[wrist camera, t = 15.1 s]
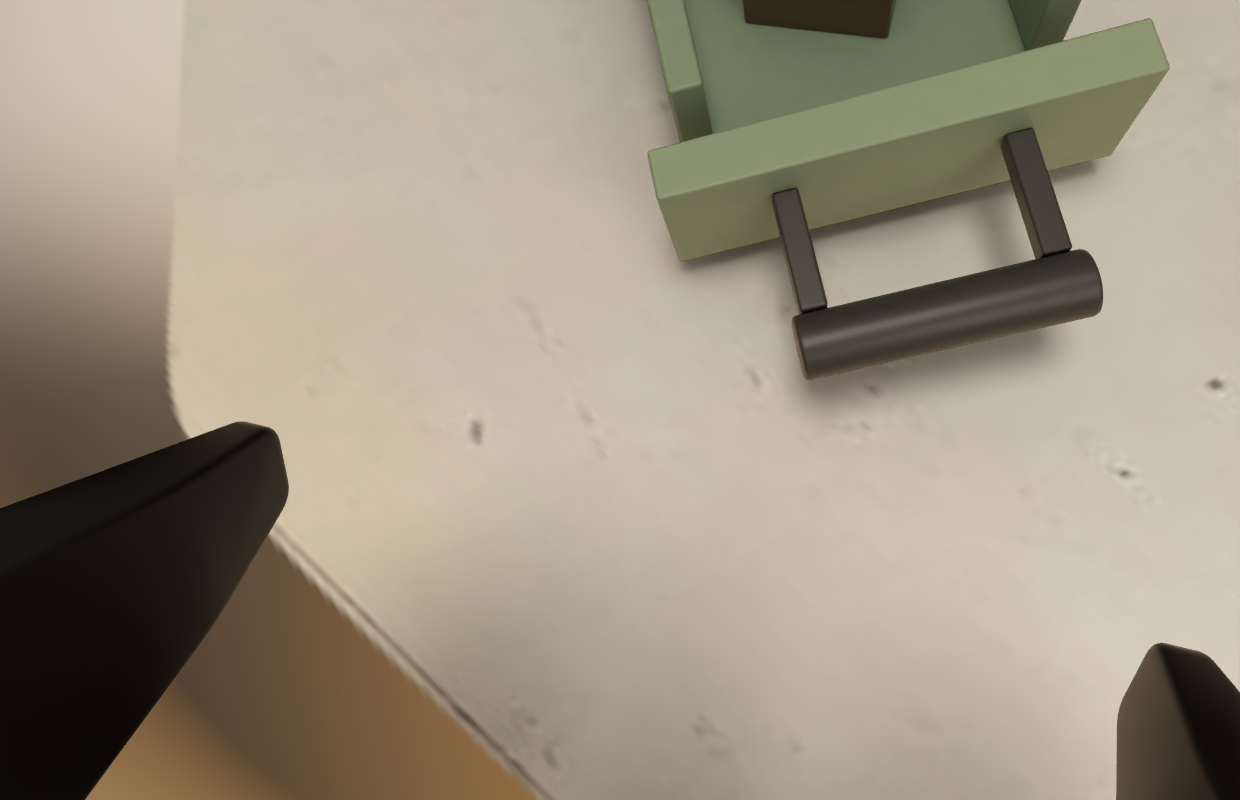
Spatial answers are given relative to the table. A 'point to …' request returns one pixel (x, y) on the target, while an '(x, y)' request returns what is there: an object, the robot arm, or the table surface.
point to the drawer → (894, 152)
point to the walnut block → (824, 15)
